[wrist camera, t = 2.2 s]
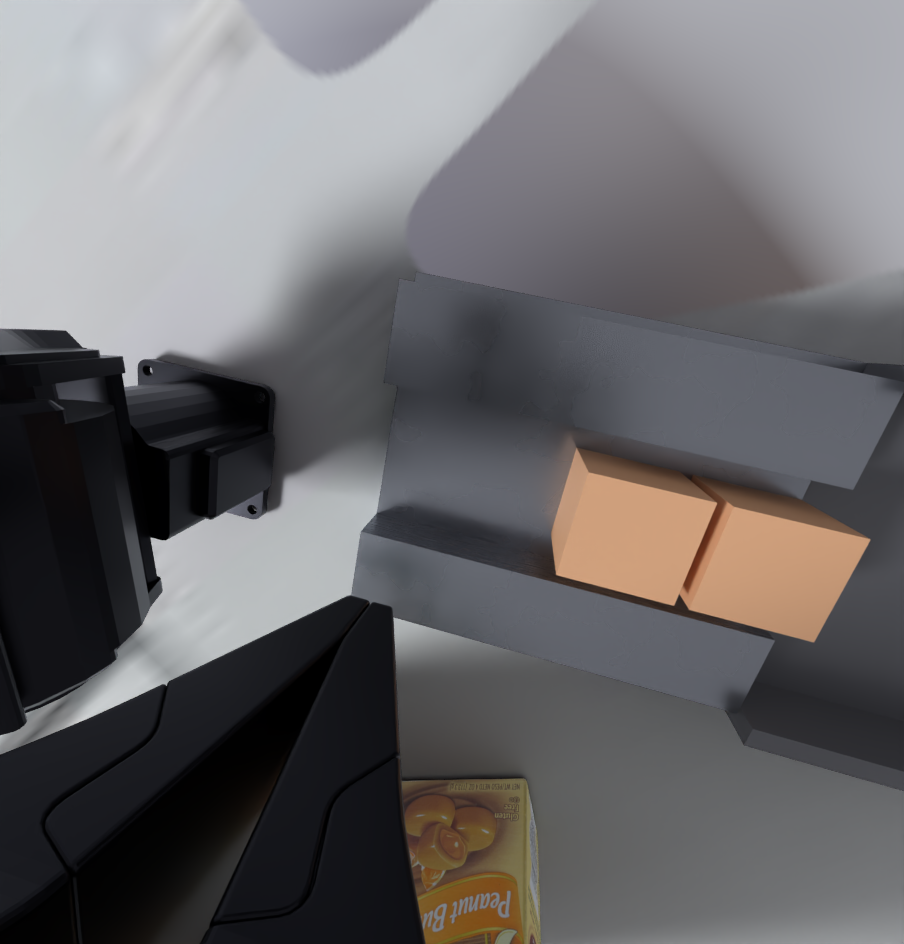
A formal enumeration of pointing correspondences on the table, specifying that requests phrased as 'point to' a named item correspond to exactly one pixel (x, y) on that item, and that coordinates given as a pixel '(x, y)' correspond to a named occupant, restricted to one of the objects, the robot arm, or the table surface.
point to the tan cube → (770, 561)
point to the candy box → (474, 860)
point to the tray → (846, 638)
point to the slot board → (550, 458)
